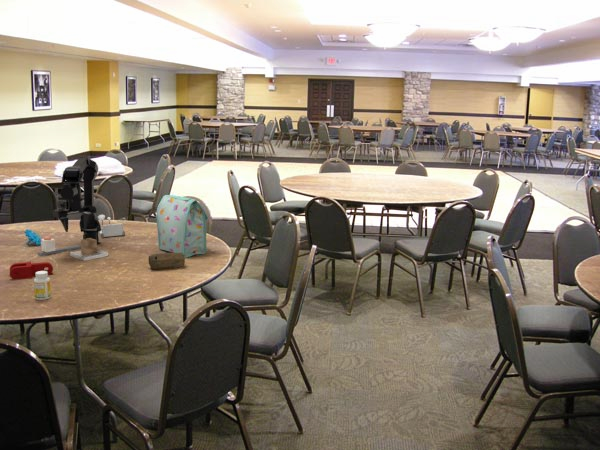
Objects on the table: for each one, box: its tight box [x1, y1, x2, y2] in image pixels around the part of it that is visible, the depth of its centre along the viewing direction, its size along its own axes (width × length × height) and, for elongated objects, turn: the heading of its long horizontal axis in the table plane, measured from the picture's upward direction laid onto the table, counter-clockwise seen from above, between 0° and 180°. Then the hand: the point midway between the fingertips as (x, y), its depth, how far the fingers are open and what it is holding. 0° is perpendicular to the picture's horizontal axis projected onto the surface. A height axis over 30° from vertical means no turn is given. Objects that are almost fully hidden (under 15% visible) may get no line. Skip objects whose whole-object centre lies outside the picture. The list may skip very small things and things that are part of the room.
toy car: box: [96, 214, 126, 239], centre depth 317 cm, size 18×10×12 cm
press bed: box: [69, 248, 109, 262], centre depth 275 cm, size 12×12×2 cm
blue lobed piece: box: [24, 228, 42, 246], centre depth 292 cm, size 11×6×10 cm
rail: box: [36, 244, 81, 257], centre depth 281 cm, size 20×3×1 cm, turn 139°
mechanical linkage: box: [9, 261, 54, 280], centre depth 244 cm, size 16×7×5 cm, turn 115°
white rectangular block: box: [40, 236, 56, 252], centre depth 276 cm, size 4×4×6 cm
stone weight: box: [148, 252, 186, 270], centre depth 259 cm, size 15×7×7 cm, turn 121°
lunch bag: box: [155, 194, 209, 259], centre depth 284 cm, size 23×16×27 cm
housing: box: [80, 238, 98, 255], centre depth 274 cm, size 5×5×7 cm
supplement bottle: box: [33, 271, 52, 301], centre depth 217 cm, size 5×5×10 cm
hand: (76, 230), depth 272 cm, fingers open, 9 cm apart
